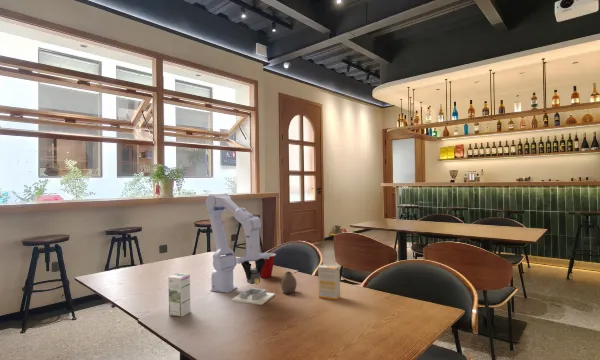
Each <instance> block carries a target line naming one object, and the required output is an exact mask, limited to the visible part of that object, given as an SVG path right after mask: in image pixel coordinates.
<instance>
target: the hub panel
mask: <svg viewBox="0 0 600 360" xmlns="http://www.w3.org/2000/svg"><path fill="white" fill-rule="evenodd" d="M275 296H276V293H275V292H274V293H273V292H267V289H265V288H256V287H248V288H247V289H245V290H244V291H242V292H239V294H238V295H236V296H233V297H232V298H231V301H232V302H236V303H246V304H253V305H260V306H263V305H264V304H265V303H266V302H268V301H269V300H270V299H272V298H273V297H275Z"/></svg>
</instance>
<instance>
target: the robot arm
mask: <svg viewBox="0 0 600 360" xmlns="http://www.w3.org/2000/svg"><path fill="white" fill-rule="evenodd" d="M205 205H206V210H207V211H206V212H207V213H208V216H209V217H208V218H209V223H210V226H211V230H212V235H213V236H212V237H213V240H214V244H215V248H216V250H215V252H214V253H213V255H212V266H213V269H214V270H213V271H212V272H211V279H210V280H211V289H210V291H213V292H220V293H227V294H228V293H230V292H232V291H234V290H236V289H237V288H238V286H236V285H235V286H234V270H235V268H236V266H237V265H238V264H239V265H241V266H242V269H243V270H244V272H245V276H246V280H247V279H248V280H250V270H251V268H252V264H251V263H250V262H254V263H255V268H257V269H258V272H259V273H260V275H261V271H262V268H263V266H264V264H265V260H264V259H269V254H260V253H261V250H260V249H261V248H260V247H261V244H260V241H261V240H260V230H261V229H262V227H263V221H262V218H261V217H260V216H255V215H254V214H252V213H250V212H249V211H247V208H245V207H239V206H238V205H237V204H236V203H235V201H233V200H232V197H231V195H229V194H228V193H218V194H217V193H214V194H212V193H210V194H208V195H207V197H206V199H205ZM226 209H227V210H228V211H229V212H231V213H232V214H233V216H234V219H235V220H236V221H237V222H239V223H240V224H241V225H242V229H243V231H244V236H245V255H244V256H241V257H238V258H237V256H236V255H235V251H234V250H233V249H232V248H230V247H229V245H228V244H229V243H228V239H227V235H226V232H225V231H226V230H225V226H224V223H223V219H222V214H223V213H224V212H225V211H226Z"/></svg>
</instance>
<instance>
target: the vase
mask: <svg viewBox="0 0 600 360" xmlns="http://www.w3.org/2000/svg"><path fill="white" fill-rule="evenodd" d="M280 281H281V282H280V287H281V290H282V292H284V293H285V294H292V293H294V292H295V291H296V289H297V279H296V277H295V276H294V275H293V273H292V272H291V271H285V273H284V275H283V277H282V278H281V280H280Z"/></svg>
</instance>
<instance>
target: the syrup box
mask: <svg viewBox="0 0 600 360" xmlns="http://www.w3.org/2000/svg"><path fill="white" fill-rule="evenodd" d="M167 279H168V280H167V281H168V282H167V283H168V316H173V317H180V318H182V317H184V316H186V315H188V314H190V313H191V311H192V308H191V274H190V273H181V272H180V273H174V274H172V275H170V276H168V278H167Z"/></svg>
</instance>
